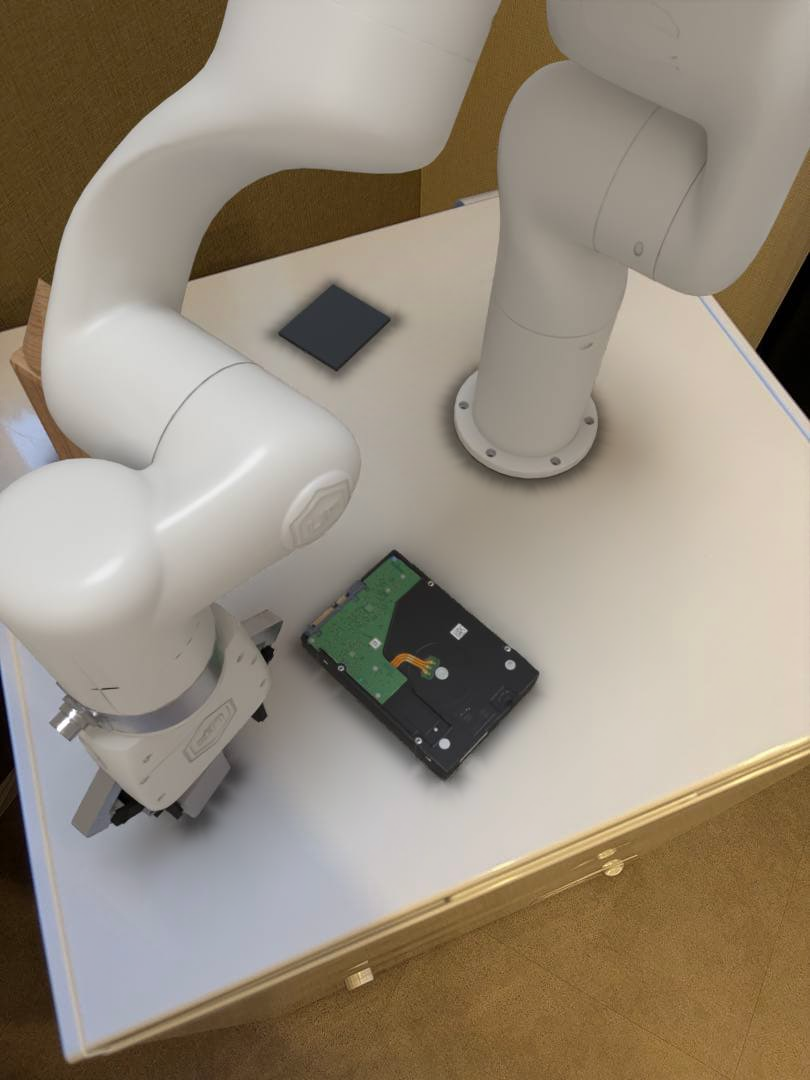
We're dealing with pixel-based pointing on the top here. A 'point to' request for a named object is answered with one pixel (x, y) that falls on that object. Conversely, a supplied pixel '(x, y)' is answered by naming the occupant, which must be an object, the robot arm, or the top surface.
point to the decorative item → (29, 374)
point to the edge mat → (334, 327)
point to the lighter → (204, 786)
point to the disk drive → (419, 662)
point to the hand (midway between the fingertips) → (206, 752)
